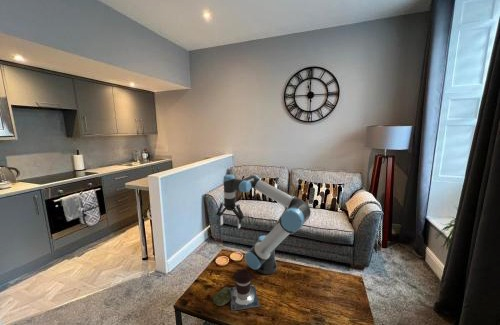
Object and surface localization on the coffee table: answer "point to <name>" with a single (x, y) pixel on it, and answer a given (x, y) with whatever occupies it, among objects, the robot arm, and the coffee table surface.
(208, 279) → the coffee table surface
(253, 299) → the duct flange
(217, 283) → the coffee table surface
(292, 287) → the coffee table surface
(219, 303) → the seashell
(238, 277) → the coffee cup
